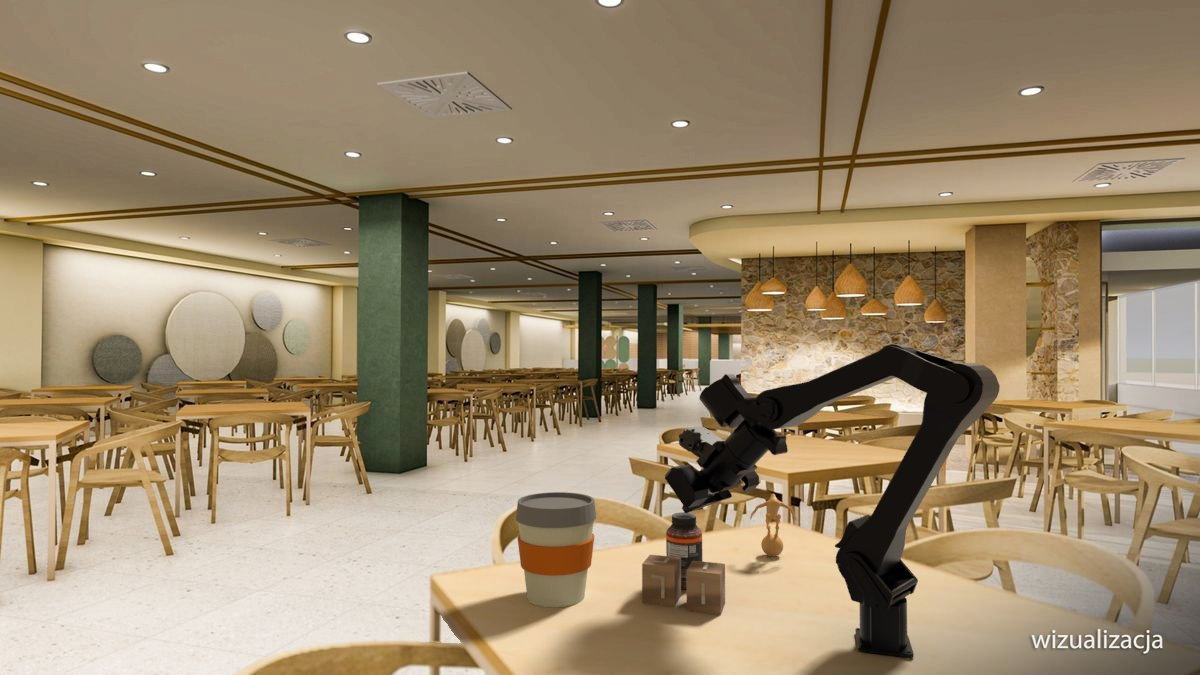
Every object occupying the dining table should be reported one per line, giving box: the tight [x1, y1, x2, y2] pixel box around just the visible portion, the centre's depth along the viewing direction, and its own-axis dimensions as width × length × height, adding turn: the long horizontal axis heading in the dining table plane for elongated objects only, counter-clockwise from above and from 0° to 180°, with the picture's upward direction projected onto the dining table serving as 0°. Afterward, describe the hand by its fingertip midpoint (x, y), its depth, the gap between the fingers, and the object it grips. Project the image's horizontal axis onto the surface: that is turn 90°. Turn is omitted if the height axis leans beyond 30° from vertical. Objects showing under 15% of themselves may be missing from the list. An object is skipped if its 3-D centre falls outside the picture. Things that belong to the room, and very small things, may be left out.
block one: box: [686, 561, 726, 616], centre depth 100 cm, size 5×5×6 cm
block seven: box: [641, 554, 682, 608], centre depth 103 cm, size 5×5×6 cm
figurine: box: [749, 493, 797, 557], centre depth 124 cm, size 8×6×12 cm
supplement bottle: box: [665, 511, 704, 590], centre depth 110 cm, size 6×6×11 cm
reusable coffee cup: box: [515, 491, 597, 608], centre depth 104 cm, size 13×13×15 cm
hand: (684, 510), depth 110 cm, fingers closed
